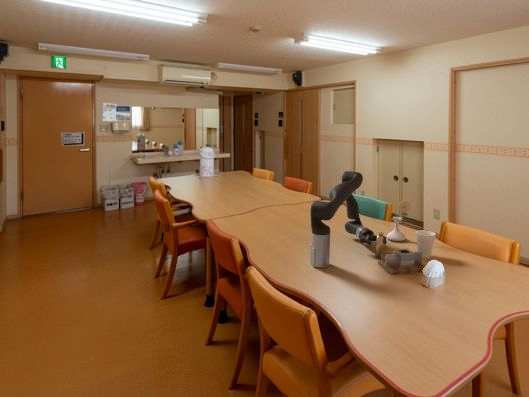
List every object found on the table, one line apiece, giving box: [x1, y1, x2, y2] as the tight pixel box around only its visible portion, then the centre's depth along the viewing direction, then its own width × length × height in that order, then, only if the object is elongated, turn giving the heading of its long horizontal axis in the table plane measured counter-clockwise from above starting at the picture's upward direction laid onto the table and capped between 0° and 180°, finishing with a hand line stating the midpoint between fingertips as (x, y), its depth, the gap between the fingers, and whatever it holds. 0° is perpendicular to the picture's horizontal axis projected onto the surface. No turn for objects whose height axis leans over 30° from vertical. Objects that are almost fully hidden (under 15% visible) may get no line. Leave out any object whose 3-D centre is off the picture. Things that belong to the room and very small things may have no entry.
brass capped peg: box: [375, 231, 385, 260], centre depth 193 cm, size 4×4×14 cm
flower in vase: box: [385, 199, 412, 242], centre depth 221 cm, size 13×11×25 cm
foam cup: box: [415, 229, 437, 259], centre depth 195 cm, size 10×9×13 cm
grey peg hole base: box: [377, 260, 426, 276], centre depth 182 cm, size 20×14×2 cm
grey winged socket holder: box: [384, 248, 423, 268], centre depth 181 cm, size 19×7×7 cm, turn 99°
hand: (378, 243), depth 194 cm, fingers open, 8 cm apart
